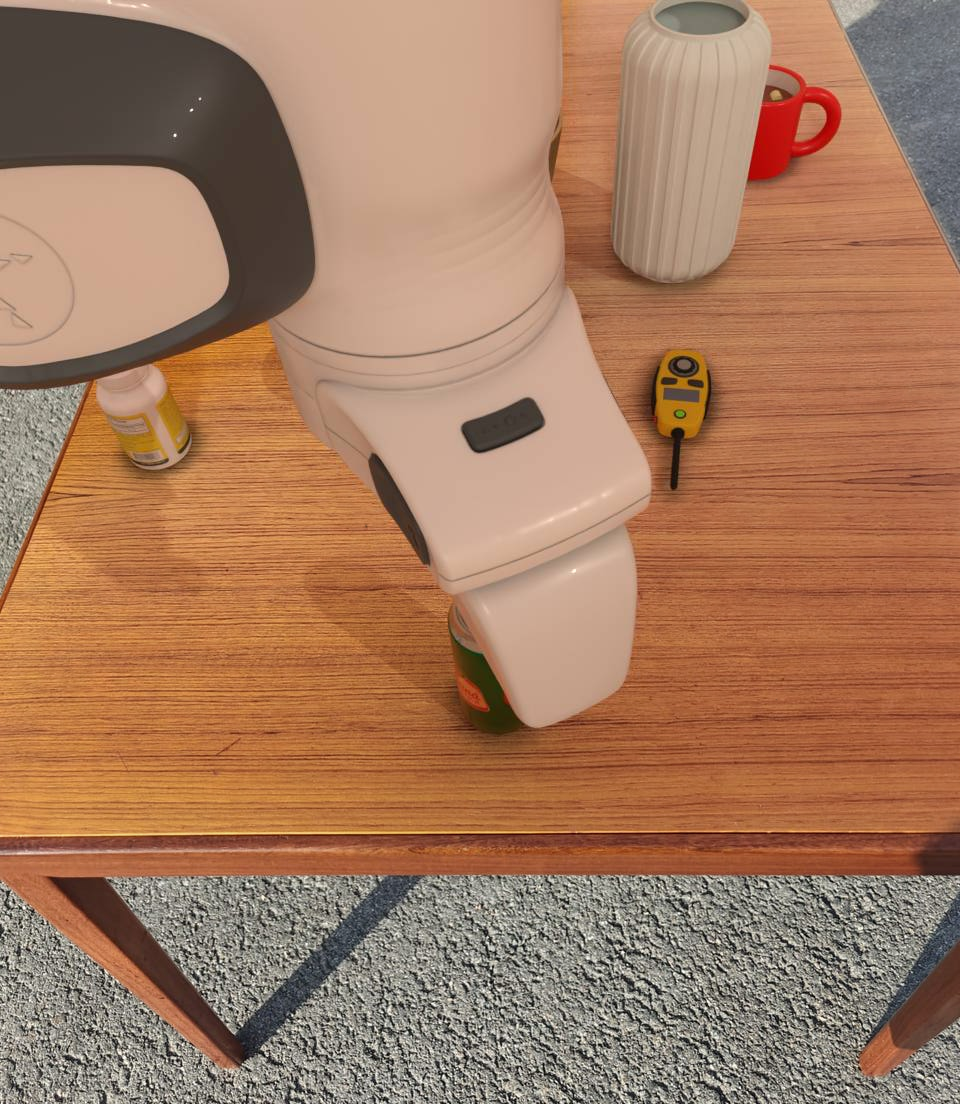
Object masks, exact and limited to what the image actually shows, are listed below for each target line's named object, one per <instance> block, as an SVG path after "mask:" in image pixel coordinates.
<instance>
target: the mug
mask: <svg viewBox="0 0 960 1104" xmlns="http://www.w3.org/2000/svg"><path fill="white" fill-rule="evenodd" d="M804 104H816V105H819V106H820V107H822V109H823V110H824V112H825V116H826V118H825V123H824V125H823V127H822V128H821V130H819V132H818V133H816V135H814V136H812V137H811V138H809V139H807V140H803V141H796V136H797V131H798V128H799V123H800V120H801V115H802V111H803V107H804ZM842 113H843V112H842V107H841V103H840V101H839V100H838V98H837V96H835V95H834V94H833V93H832V92H831V91H829V90H828V89H826V88H823V87H820V86H814V85H813V86H812V85H811V86H807V83H806V81H805V79H804V78H803V77H802V75H800V74H799V73H797V72H796V71H794V70H792V69H790V68H788V67H784V66H779V65H774V64H769V69H768V74H767V79H766V84H765V90H764V95H763V100H762V105H761V110H760V115H759V120H758V126H757V131H756V136H755V141H754V146H753V151H752V156H751V162H750V167H749V172H748V177H747V181H762V180H767V179H771V178H774V177H775V178H776V177H777V176H779V175H781V174H782V173H784V172H786V170H787V169H788V168H789V165H790V162H791V158H801V157H807V156H810V155H813V154H815V153H817V152H819V151H820V150H822V149H823V148H825V147H826V146H827V145H829V144H830V142H831V141H832V140H833V139H834V137H835V136H836V134H837V133H838V130H839V128H840V125H841V122H842Z"/></svg>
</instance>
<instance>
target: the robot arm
mask: <svg viewBox="0 0 960 1104" xmlns="http://www.w3.org/2000/svg"><path fill="white" fill-rule="evenodd" d="M562 9H563V8H562V0H0V390H10V391H11V390H12V391H13V390H14V391H32V390H33V391H34V390H35V391H36V390H50V389H56V388H64V387H70V386H71V387H72V386H75V385H80V384H84V383H88V382H89V383H90V382H93V381H96V380H97V379H100V378H104V377H108V376H111V375H115V374H118V373H121V372H125V371H128V370H131V369H135V368H138V367H142V366H145V365H148V364H155V363H158V362H161V361H164V360H167V359H170V358H173V357H176V356H179V355H182V354H186V353H188V352H191V351H194V350H196V349H199V348H202V347H204V346H207V345H210V344H214V343H216V342H219V341H222V340H224V339H227V338H230V337H233V336H235V335H237V334H240V333H243V332H245V331H248V330H250V329H253V328H255V327H257V326H259V325H261V324H263V323H267V326H268V328H269V332H270V334H271V338H272V341H273V343H274V346H275V349H276V352H277V355H278V358H279V360H280V364H281V367H282V370H283V372H284V376H285V379H286V381H287V384H288V387H289V390H290V393H291V396H292V398H293V401H294V404H295V407H296V410H297V412H298V414H299V417H300V418H301V420H302V423H304V425H305V426H306V427H307V429H308V430H309V432H310V433H311V434H312V435H313V436H314V437H315V438H316V439H317V440H318V441H320V442H321V443H322V444H323V445H324V446H326V447H327V448H329V449H330V450H332V451H333V452H335V453H336V454H337V456H338V457H339V458H340V459H341V461H342V462H343V463H344V464H345V466H346V467H347V468H348V469H349V470H350V471H351V472H352V473H353V474H354V475H355V476H356V477H357V478H358V479H359V480H360V481H361V482H362V483H363V484H364V485H365V486H366V487H367V488H368V489H369V490H370V491H371V492H372V493H373V494H374V495H375V496H376V498H378V500H380V502H381V504H382V506H383V508H384V509H385V510H386V512H387V513H388V515H389V516H390V517H391V518H392V519H393V521H394V522H395V523H396V525H397V526H398V529H400V530H401V531H402V534H403V535H404V536H405V538H406V540H407V541H408V543H409V544H410V546H411V547H412V549H413V551H414V552H415V554H416V556H417V558H418V559H419V560H420V563H422V565H424V566H426V567H427V569H428V571H429V573H430V574H431V576H432V578H433V579H434V581H435V583H436V585H437V586H438V588H440V589H441V590H442V591H443V592H444V593H446V594H447V595H450V597H451V599H452V602H453V601H454V603H455V604H456V606H457V608H458V610H459V612H460V613H461V615H462V617H463V619H464V621H465V622H466V624H467V626H468V628H469V630H470V631H471V633H472V635H473V637H474V639H475V640H476V642H477V644H478V646H479V648H480V649H481V651H482V653H483V655H484V657H485V658H486V660H487V662H488V664H489V666H490V667H491V669H492V671H493V673H494V674H495V676H496V678H497V680H498V682H499V683H500V685H501V687H502V689H503V691H504V693H505V695H506V697H507V699H508V701H509V703H510V705H511V707H512V709H513V711H514V712H515V714H516V715H517V717H518V718H519V719H520V720H521V721H522V722H523V723H525V725H526V726H528V727H530V728H533V729H540V728H546V727H549V726H552V725H555V724H557V723H560V722H563V721H565V720H567V719H569V718H572V717H573V716H575V715H578V714H580V713H582V712H584V711H585V710H588V709H590V708H592V707H593V706H595V705H597V704H598V703H600V702H602V701H604V700H606V699H607V698H609V697H610V696H612V695H613V694H614V693H616V692H617V691H618V690H619V689H620V688H621V687H622V686H623V684H624V683H625V681H626V679H627V677H628V676H627V675H628V673H629V669H630V664H631V659H632V654H633V648H634V647H633V646H634V641H635V640H634V639H635V630H636V620H637V608H638V607H637V605H638V592H639V591H638V587H639V586H638V569H637V560H636V555H635V550H634V547H633V542H632V539H631V536H630V533H629V530H628V527H627V524H626V522H628V521H630V520H631V519H633V518H634V517H636V516H638V515H639V514H641V513H642V512H645V511H646V510H647V509H648V508H649V505H650V501H651V497H652V492H653V491H652V490H653V478H652V470H651V467H650V463H649V460H648V458H647V455H646V454H645V451H644V449H643V448H642V446H641V444H640V442H639V440H638V438H637V437H636V434H635V433H634V431H633V429H632V427H631V425H630V423H629V422H628V420H627V417H626V416H625V414H624V412H623V411H622V408H621V407H620V405H619V403H618V401H617V399H616V397H615V395H614V393H613V391H612V389H611V387H610V385H609V383H608V380H607V379H606V377H605V375H604V373H603V372H602V370H601V368H600V365H599V363H598V361H597V358H596V356H595V353H594V351H593V347H592V345H591V343H590V340H589V336H588V334H587V330H586V327H585V323H584V320H583V316H582V313H581V309H580V306H579V303H578V300H577V297H576V294H575V293H574V291H573V290H572V288H571V287H569V286H566V273H565V272H566V270H565V269H566V268H565V267H566V266H565V265H566V257H565V256H566V255H565V254H566V253H565V251H566V248H565V244H566V243H565V240H566V239H565V226H564V220H563V219H564V218H563V214H562V211H561V207H560V203H559V200H558V197H557V195H556V192H555V189H554V187H553V184H551V180H550V174H549V160H548V159H549V150H550V145H551V141H552V137H553V134H554V131H555V127H556V124H557V120H558V117H559V113H560V107H562V101H563V93H564V51H563V49H564V47H563V46H564V45H563V14H562V13H563V11H562Z"/></svg>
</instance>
